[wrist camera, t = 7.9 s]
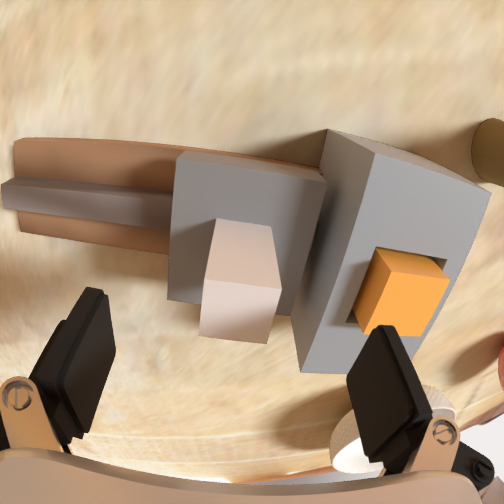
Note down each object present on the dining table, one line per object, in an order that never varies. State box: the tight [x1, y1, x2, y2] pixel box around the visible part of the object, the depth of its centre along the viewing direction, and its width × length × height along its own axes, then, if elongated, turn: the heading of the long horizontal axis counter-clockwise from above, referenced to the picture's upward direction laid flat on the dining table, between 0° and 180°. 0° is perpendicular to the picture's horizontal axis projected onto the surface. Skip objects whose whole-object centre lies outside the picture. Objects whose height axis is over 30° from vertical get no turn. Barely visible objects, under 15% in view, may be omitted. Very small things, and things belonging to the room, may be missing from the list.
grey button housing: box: [290, 129, 491, 374], centre depth 21 cm, size 15×8×9 cm, turn 171°
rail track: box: [1, 138, 323, 255], centre depth 22 cm, size 8×24×4 cm, turn 80°
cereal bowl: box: [329, 385, 456, 473], centre depth 34 cm, size 17×17×7 cm
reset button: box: [352, 246, 450, 337], centre depth 17 cm, size 4×4×4 cm
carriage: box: [167, 150, 328, 344], centre depth 18 cm, size 9×8×10 cm
